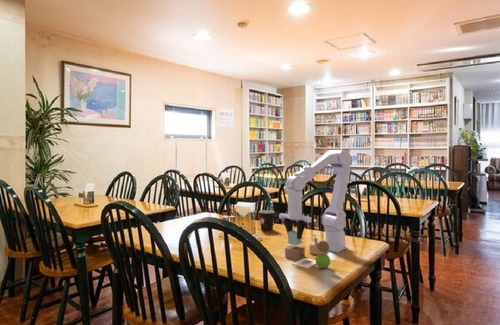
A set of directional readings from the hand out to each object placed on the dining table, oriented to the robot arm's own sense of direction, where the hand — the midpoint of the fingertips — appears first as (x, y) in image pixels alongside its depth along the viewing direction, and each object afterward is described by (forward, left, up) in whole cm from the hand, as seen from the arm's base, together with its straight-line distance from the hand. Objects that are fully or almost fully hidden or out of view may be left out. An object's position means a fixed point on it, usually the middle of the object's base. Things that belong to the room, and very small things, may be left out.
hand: (294, 237), depth 141 cm
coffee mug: (-29, -36, -8) cm, 47 cm away
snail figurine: (+5, +15, -8) cm, 18 cm away
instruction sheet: (+4, +8, -8) cm, 12 cm away
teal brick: (0, 0, -2) cm, 2 cm away
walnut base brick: (0, 0, -8) cm, 8 cm away
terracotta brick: (-10, +4, -8) cm, 13 cm away
